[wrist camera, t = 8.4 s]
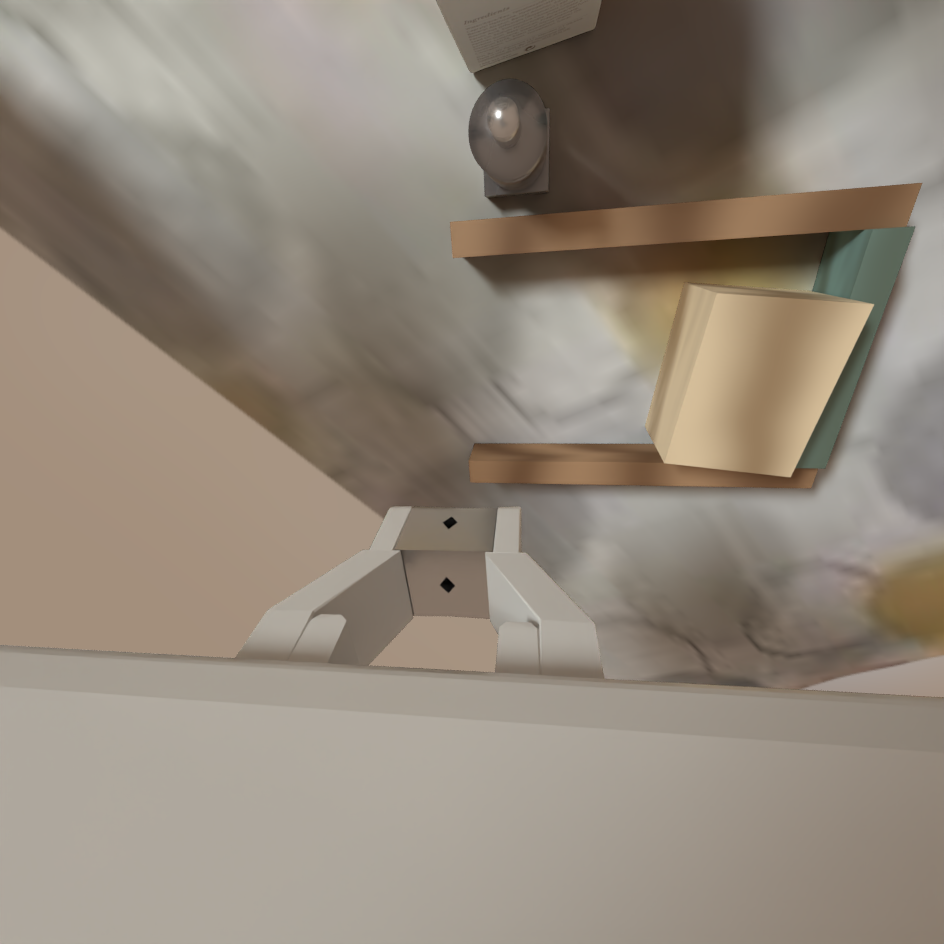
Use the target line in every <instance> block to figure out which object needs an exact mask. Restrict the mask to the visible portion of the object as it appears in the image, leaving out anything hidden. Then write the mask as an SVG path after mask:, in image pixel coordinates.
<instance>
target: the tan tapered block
mask: <svg viewBox="0 0 944 944" xmlns="http://www.w3.org/2000/svg"><path fill="white" fill-rule="evenodd" d="M873 306H874V304H871V303H866V302H861V301H856V300H852V299H847V298H842V297H837V296H832V295H827V294H823V293H818V292H813V291H805V290H790V289H776V288H761V287H746V286H732V285H717V284H702V283H688V282H684V285H683V288H682V292H681V296H680V299H679V303H678V307H677V310H676V314H675V318H674V321H673V325H672V329H671V332H670V336H669V340H668V343H667V347H666V351H665V354H664V358H663V362H662V365H661V369H660V373H659V377H658V380H657V384H656V388H655V391H654V395H653V399H652V402H651V406H650V410H649V413H648V417H647V421H646V424H645V427H646V429H647V431H648V433H649V435H650V437H651V439H652V441H653V443H654V445H655V447H656V448H657V450H658V452H659V454H660V456H661V458H662V460H663V462H664V463H667V464H676V465H685V466H694V467H703V468H711V469H720V470H729V471H738V472H747V473H756V474H765V475H774V476H783V477H791V476H792V473H793V471H794V469H795V467H796V465H797V463H798V461H799V459H800V457H801V455H802V453H803V451H804V449H805V447H806V445H807V442H808V440H809V438H810V436H811V434H812V432H813V430H814V428H815V426H816V424H817V422H818V420H819V418H820V416H821V414H822V412H823V409H824V407H825V405H826V403H827V401H828V399H829V397H830V395H831V393H832V391H833V389H834V387H835V385H836V383H837V381H838V378H839V376H840V374H841V372H842V370H843V368H844V366H845V364H846V362H847V360H848V358H849V356H850V354H851V352H852V350H853V348H854V345H855V343H856V341H857V339H858V337H859V335H860V333H861V331H862V329H863V327H864V325H865V323H866V321H867V319H868V317H869V314H870V312H871V310H872V308H873Z"/></svg>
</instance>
